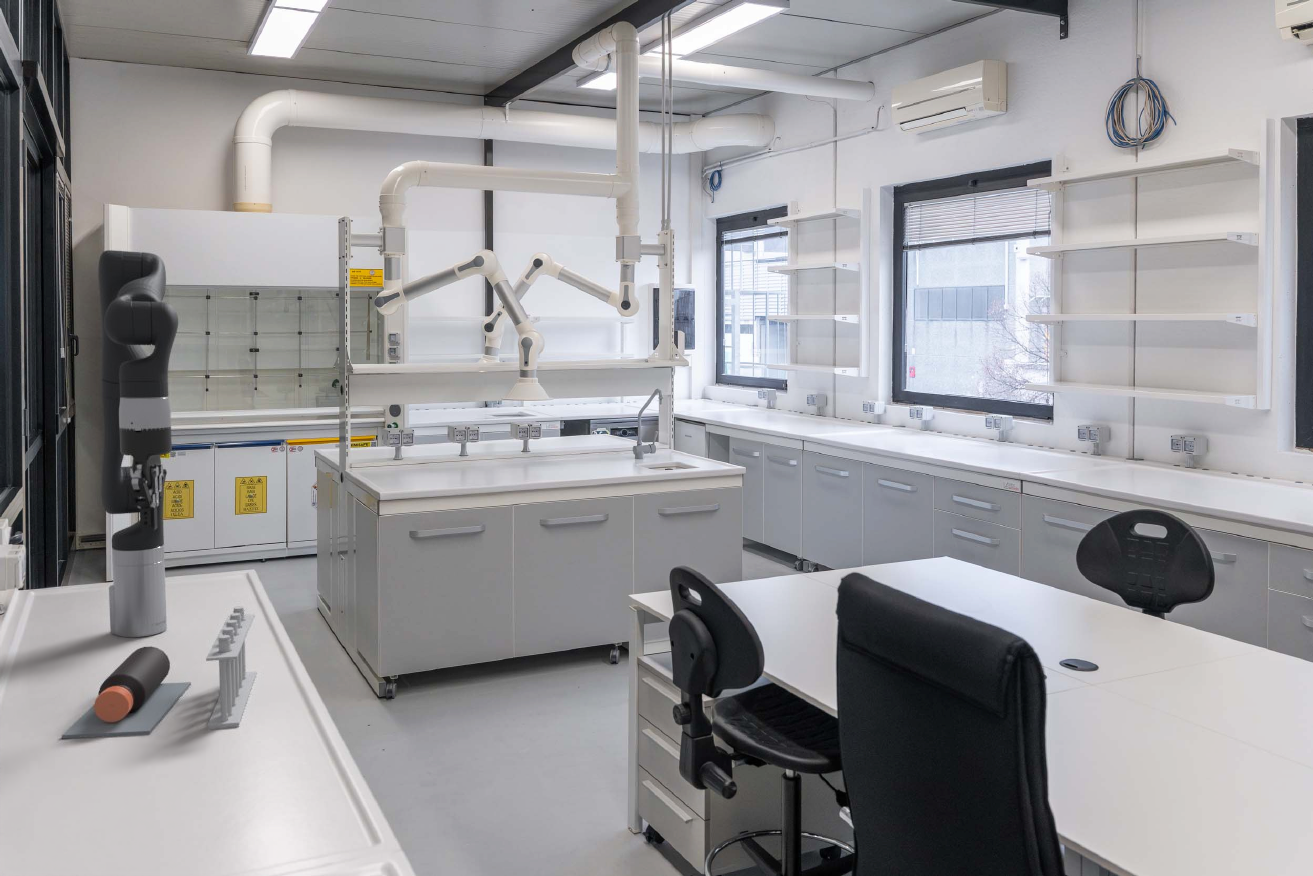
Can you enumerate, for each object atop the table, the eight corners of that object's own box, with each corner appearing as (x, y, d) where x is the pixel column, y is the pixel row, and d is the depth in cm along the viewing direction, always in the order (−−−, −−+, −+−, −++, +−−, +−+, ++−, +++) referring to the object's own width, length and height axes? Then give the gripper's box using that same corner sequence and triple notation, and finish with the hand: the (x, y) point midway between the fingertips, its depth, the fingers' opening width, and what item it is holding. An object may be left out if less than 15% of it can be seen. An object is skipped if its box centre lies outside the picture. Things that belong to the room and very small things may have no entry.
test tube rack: (239, 727, 154) (236, 642, 152) (207, 730, 152) (204, 644, 151) (256, 675, 178) (255, 601, 176) (229, 677, 176) (227, 602, 175)
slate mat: (114, 688, 170) (114, 685, 170) (190, 685, 172) (190, 682, 172) (61, 738, 148) (61, 735, 148) (149, 734, 150) (149, 730, 150)
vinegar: (123, 650, 170) (82, 690, 151) (166, 642, 172) (130, 680, 152) (131, 688, 171) (91, 733, 152) (174, 680, 173) (140, 723, 153)
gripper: (134, 421, 171) (137, 523, 173) (106, 428, 158) (110, 538, 160) (181, 421, 172) (184, 522, 174) (157, 428, 159) (161, 537, 161)
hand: (149, 529), depth 167 cm, fingers closed
